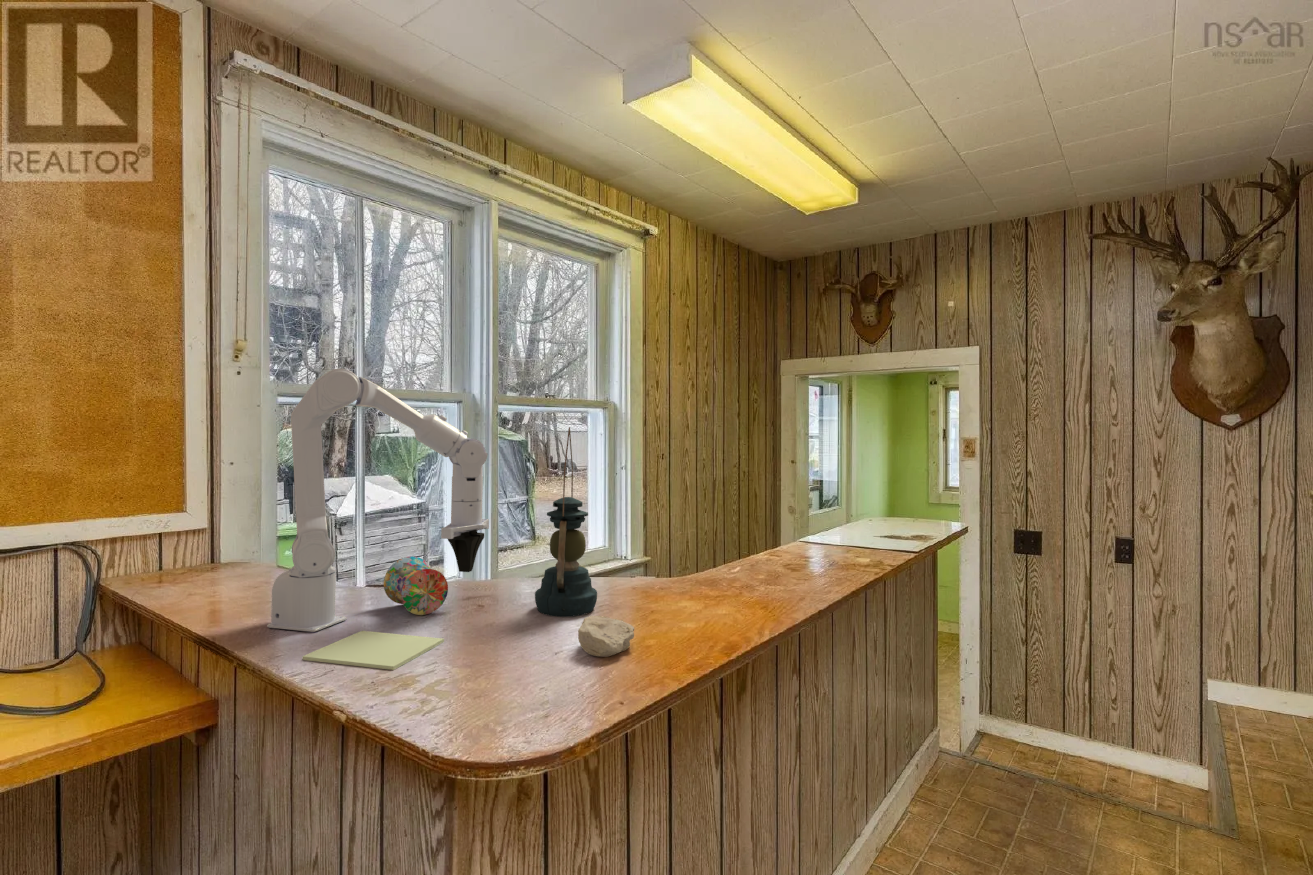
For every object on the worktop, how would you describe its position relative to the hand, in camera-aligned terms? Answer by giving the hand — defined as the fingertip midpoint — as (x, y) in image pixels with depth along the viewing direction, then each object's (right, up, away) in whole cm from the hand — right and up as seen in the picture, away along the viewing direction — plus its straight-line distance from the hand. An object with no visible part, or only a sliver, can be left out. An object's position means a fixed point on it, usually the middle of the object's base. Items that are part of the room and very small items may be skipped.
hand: (465, 571), depth 124 cm
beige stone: (+29, -8, -23) cm, 37 cm away
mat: (-6, -7, -26) cm, 27 cm away
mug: (-4, -3, -6) cm, 8 cm away
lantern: (+19, -8, 0) cm, 21 cm away
